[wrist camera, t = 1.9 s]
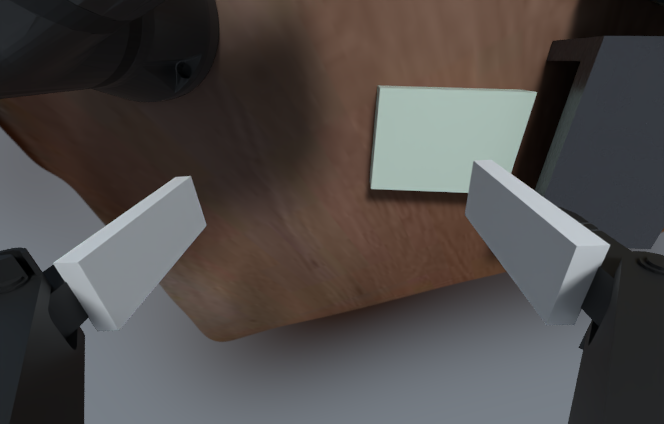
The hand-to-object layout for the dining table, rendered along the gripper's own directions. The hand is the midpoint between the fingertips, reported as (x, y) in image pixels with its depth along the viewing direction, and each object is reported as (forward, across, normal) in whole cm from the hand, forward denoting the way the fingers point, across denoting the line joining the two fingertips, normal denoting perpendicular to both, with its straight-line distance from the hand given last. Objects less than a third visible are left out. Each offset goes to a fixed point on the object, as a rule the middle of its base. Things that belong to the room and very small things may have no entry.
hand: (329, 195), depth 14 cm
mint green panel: (+19, +10, -3) cm, 22 cm away
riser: (+19, +25, -4) cm, 31 cm away
